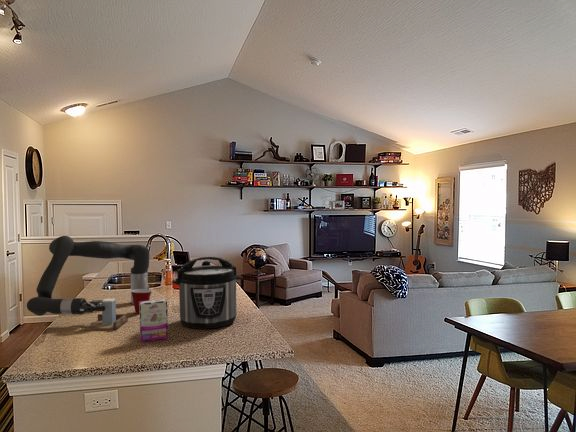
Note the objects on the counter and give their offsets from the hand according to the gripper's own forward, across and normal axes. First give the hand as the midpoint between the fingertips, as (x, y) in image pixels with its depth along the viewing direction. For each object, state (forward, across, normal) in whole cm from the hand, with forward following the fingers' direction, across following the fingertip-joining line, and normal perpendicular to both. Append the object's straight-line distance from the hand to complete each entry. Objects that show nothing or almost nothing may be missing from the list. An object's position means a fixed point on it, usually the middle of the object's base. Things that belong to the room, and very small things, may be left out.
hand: (108, 306), depth 202 cm
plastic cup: (+8, +23, +9) cm, 26 cm away
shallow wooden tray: (0, -1, +9) cm, 9 cm away
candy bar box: (+27, -21, +9) cm, 36 cm away
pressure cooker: (+46, +4, +9) cm, 47 cm away
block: (0, 0, +8) cm, 8 cm away
